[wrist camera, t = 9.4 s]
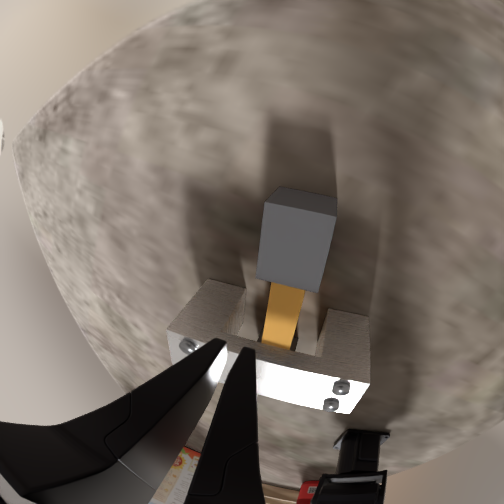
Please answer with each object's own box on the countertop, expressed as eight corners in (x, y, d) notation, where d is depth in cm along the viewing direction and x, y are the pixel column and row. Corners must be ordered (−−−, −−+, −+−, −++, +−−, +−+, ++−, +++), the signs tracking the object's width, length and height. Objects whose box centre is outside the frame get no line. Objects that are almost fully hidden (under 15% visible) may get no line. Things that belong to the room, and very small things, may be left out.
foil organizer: (318, 502, 51) (315, 512, 48) (221, 480, 58) (216, 489, 55) (332, 495, 45) (330, 506, 42) (220, 471, 52) (215, 481, 49)
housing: (353, 349, 22) (348, 417, 16) (208, 313, 26) (170, 366, 19) (368, 316, 21) (370, 387, 14) (208, 278, 24) (163, 331, 17)
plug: (297, 353, 25) (288, 385, 21) (257, 342, 25) (243, 372, 22) (337, 198, 17) (336, 216, 14) (279, 186, 18) (264, 201, 15)
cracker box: (173, 446, 52) (136, 508, 34) (172, 439, 49) (131, 507, 31) (226, 469, 50) (194, 535, 32) (230, 464, 47) (195, 536, 29)
